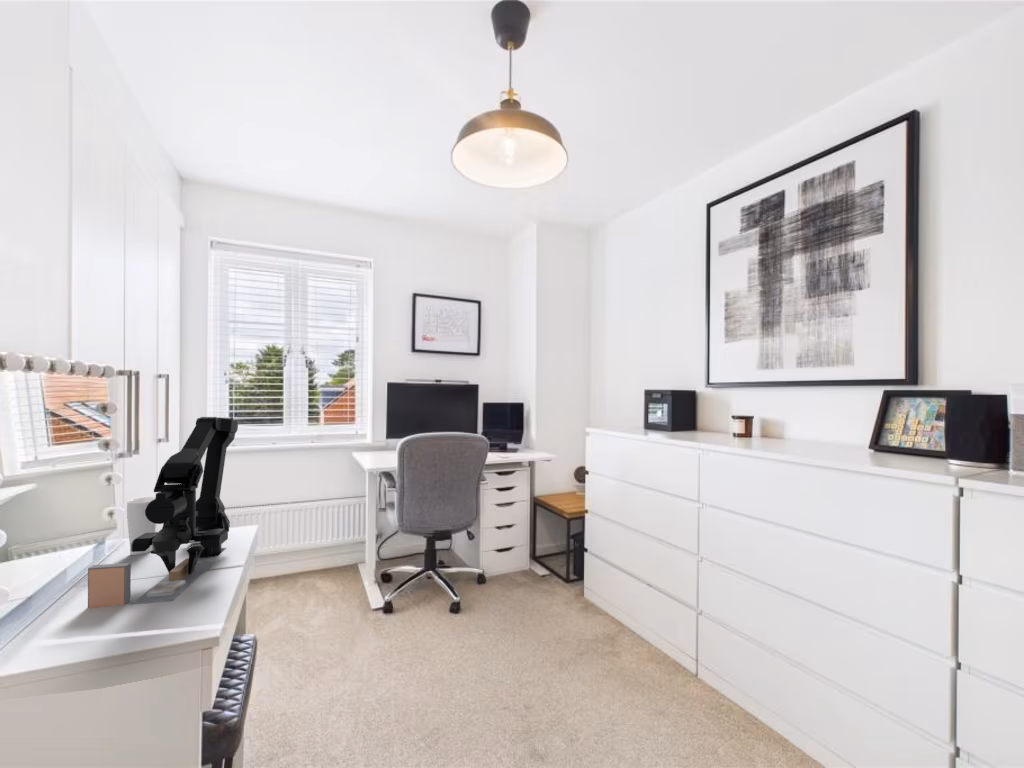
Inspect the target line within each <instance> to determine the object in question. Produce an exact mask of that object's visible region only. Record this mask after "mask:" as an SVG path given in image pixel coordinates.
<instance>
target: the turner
mask: <svg viewBox="0 0 1024 768" xmlns="http://www.w3.org/2000/svg"><path fill="white" fill-rule="evenodd" d="M188 561H189V558H185V559H183V561H181V562H179V564H177V565H175V568H173V569H172V570H171V571H170V572H168V575H169V581H165V582H161V583H159V584H158V585H157V586H156V587H154V588H153V589H152V590H151V591H149V592H148V593H147V597H154V596H167V595H173V594H174V593H175V592H176V591H177V590H178V589H180V588H181V587H182V586H183V585H184V584H185V583H186V580H184V579H185V578H186V577H187V576H188V575H189V574H188ZM194 570H195V567H194ZM194 570H193V571H194Z"/></svg>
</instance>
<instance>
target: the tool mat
mask: <svg viewBox="0 0 1024 768" xmlns="http://www.w3.org/2000/svg"><path fill="white" fill-rule="evenodd" d="M215 563H217V561H204V562H201V561H199V562H197V563H196V565H195V570H194V571H193V572H192V573H191V574H189V575H188V576H187V577H186V578H185V579H184V580H186V583H185V584H184V585H183V586H182V587H181V588H180V589H178V590H177V591H176V592H175V593H174V594H173V595H167V596H154V597H147V593H148V592H149V591H151V590H152V589H153V588H154V587H156V586H157V585H158V584H159V583H161V582H165V581H169V574H167V575H166V576H164V578H162V579H161V580H160V581H159V582H157V583H156V584H154V585H153V586H152V587H151V588H149V589H148V590H147V591H146V592H144V593H143V594H142V595H141V596H139V597H138V598H137V599H136V600H134V601H133V602H132V603H131V605H140V604H152V603H164V602H165V603H166V602H173V601H175V600H176V599H177V598H178V597H179V596H180V595H181V594H183V592H184V591H186V589H188V587H190V586H191V585H192V584H193V583H194V582H195V581H197V579H199V578H200V577H201V576H202V575H203V574H204V573H205V572H206V571H207V570H209V569H210V568H212V566H213V565H215Z"/></svg>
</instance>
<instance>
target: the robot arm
mask: <svg viewBox="0 0 1024 768" xmlns="http://www.w3.org/2000/svg"><path fill="white" fill-rule="evenodd" d="M238 428H239V424H238V421H237V420H235V419H234V417H232V416H230V417H229V416H227V417H226V416H224V417H223V416H221V417H220V416H219V417H217V416H201V417H198V418H196V421H195V426H194V428H193V430H192V431H191V433H190V435H189V437H188V438H187V440H186V441H185V442H184V443H185V444H184V445H183V447H182V448H181V450H180V451H178V452H176V453H174V454H172V455H171V456H170V457H168V459H167V460H166V461H165V463H164V464H163V465H162V467H161V469H160V471H159V474H158V477H157V480H156V483H155V485H154V488H153V493H155V498H156V499H155V500H153V501H151V502H150V503H149V504H148V505H147V507H146V509H145V515H146V517H147V519H148V520H149V521H151V522H152V523H155V524H156V525H162V528H161V529H160V530H159V531H156V532H152V533H144V534H143V535H141V536H139V537H137V538H136V539H134V540H133V542H132V544H131V551H132V552H139V551H146V550H147V549H148V548H149V547H150V545H152V551H151V552H150V553H151V555H155V556H158V557H159V558H160V559H161V560H162V562H163V564H164V566H165V568H166V570H167V572H168V573H169V572H170V571H171V570H172V569H173V568H175V567H176V556H177V551H179V550H178V549H180V547H181V546H182V545H186V544H191V547H189V548H187V550H186V552H187V553H188V559H189V561H188V574H191V573H192V572H193V570H194V567H195V565H196V563H198V561H199V559H201V558H202V559H203V558H215V557H218V556H219V555H221V554H222V553H223V552H224V551H225V550H226V549H227V547H222V544H223V543H225V542H226V541H227V540H228V539H229V532H230V523H231V521H230V519H229V517H228V515H227V514H226V512H225V511H226V506H225V505H224V503H223V501H222V500H221V489H222V483H223V475H224V468H225V462H226V454H227V449H228V447H229V446H230V445H231V443H232V442H233V441H234V440H235V437H236V434H237V432H238V430H239V429H238ZM205 453H206V455H205ZM204 455H205V463H204V467H203V464H202V459H203V457H204ZM201 479H202V480H201ZM200 480H201V486H200V492H199V493H200V494H199V497H198V499H197V490H196V489H197V488H199V483H200Z"/></svg>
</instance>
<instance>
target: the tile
mask: <svg viewBox="0 0 1024 768" xmlns="http://www.w3.org/2000/svg"><path fill="white" fill-rule="evenodd" d="M131 564H132V563H131V562H125V563H108V564H107V563H106V564H95V565H94V564H93V565H92V566H90V567H88V568H87V609H88V608H101V607H102V608H103V607H104V608H105V607H116V606H124V605H127V604H128V603H130V602H131V600H132V599H131V596H132V594H131V591H132V590H131V587H132V586H131V575H132V571H131V570H132V568H131V567H132V565H131Z"/></svg>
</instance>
